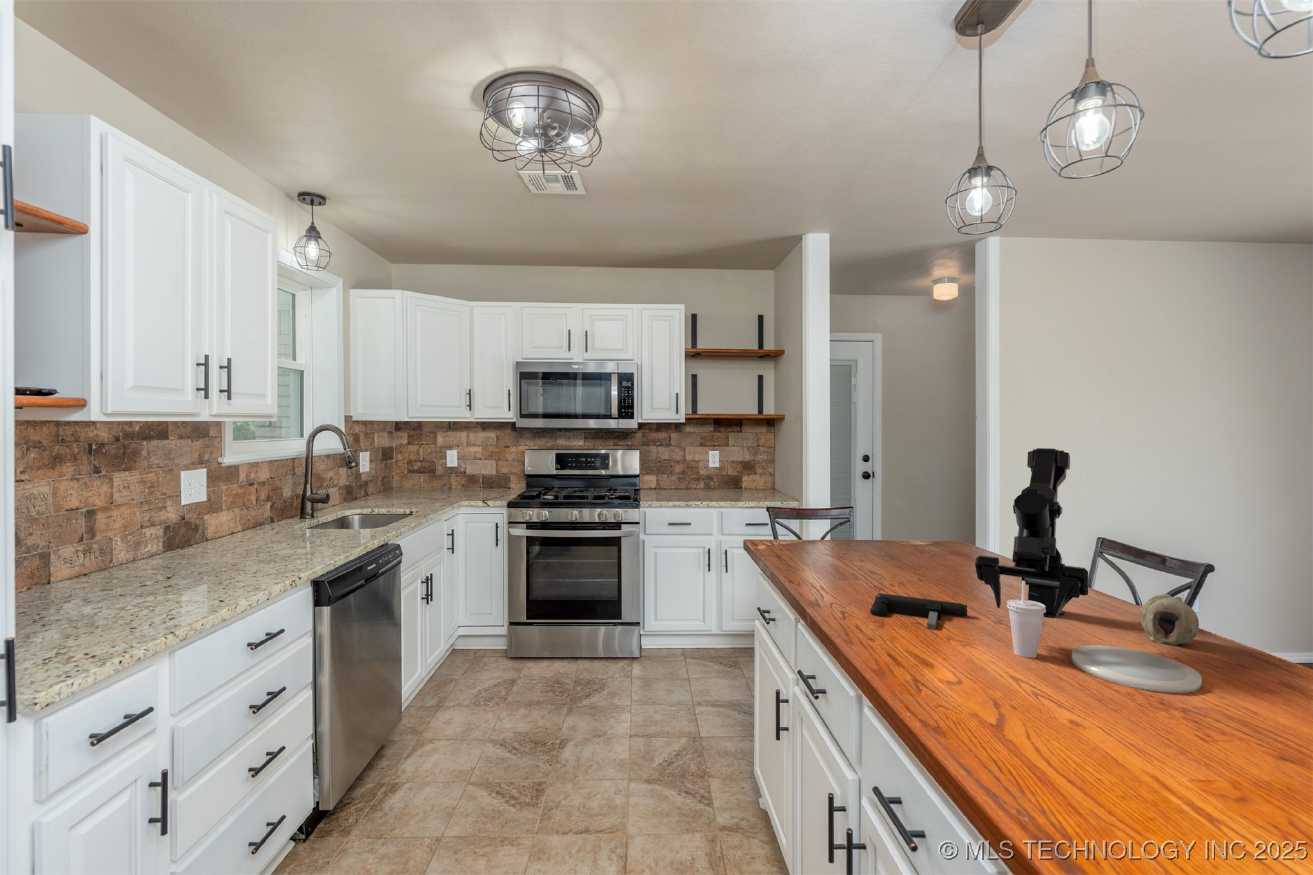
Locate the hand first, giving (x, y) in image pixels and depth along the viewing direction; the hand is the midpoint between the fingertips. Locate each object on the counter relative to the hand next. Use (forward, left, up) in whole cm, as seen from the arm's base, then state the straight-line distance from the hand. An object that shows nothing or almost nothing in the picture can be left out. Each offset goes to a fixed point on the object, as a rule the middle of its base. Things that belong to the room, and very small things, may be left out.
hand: (1026, 611), depth 113 cm
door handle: (0, -25, -9) cm, 26 cm away
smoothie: (0, 0, -8) cm, 8 cm away
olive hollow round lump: (-34, +8, -8) cm, 36 cm away
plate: (-10, +13, -8) cm, 18 cm away
